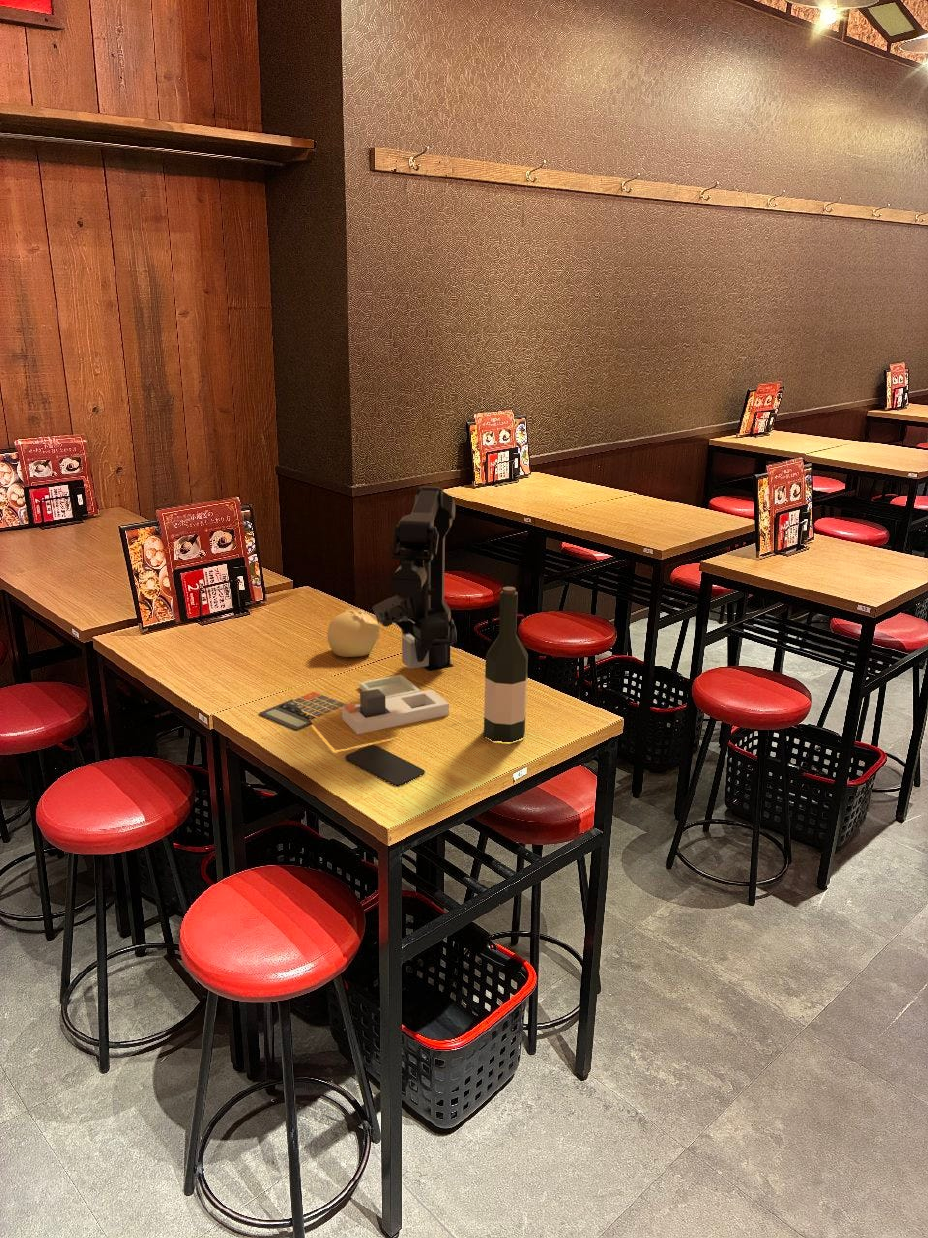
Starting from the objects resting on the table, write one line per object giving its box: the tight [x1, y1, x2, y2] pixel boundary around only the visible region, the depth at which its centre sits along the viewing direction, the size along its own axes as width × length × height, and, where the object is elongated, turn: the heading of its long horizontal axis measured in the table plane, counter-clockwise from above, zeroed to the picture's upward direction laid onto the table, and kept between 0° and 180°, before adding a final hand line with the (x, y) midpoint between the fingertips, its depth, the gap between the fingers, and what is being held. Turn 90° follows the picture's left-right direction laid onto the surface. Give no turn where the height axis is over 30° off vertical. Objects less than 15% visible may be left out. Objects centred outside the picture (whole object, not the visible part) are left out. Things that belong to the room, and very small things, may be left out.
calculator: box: [258, 691, 345, 732], centre depth 186 cm, size 12×1×15 cm
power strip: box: [341, 689, 450, 736], centre depth 182 cm, size 20×8×6 cm, turn 118°
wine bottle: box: [483, 586, 529, 742], centre depth 172 cm, size 8×8×30 cm
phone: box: [344, 744, 426, 787], centre depth 164 cm, size 7×1×15 cm
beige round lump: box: [326, 609, 380, 658], centre depth 215 cm, size 11×12×11 cm
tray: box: [358, 674, 422, 699], centre depth 194 cm, size 10×10×2 cm
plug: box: [401, 633, 429, 670], centre depth 181 cm, size 4×4×6 cm
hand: (415, 658), depth 181 cm, fingers closed on plug, 4 cm apart
